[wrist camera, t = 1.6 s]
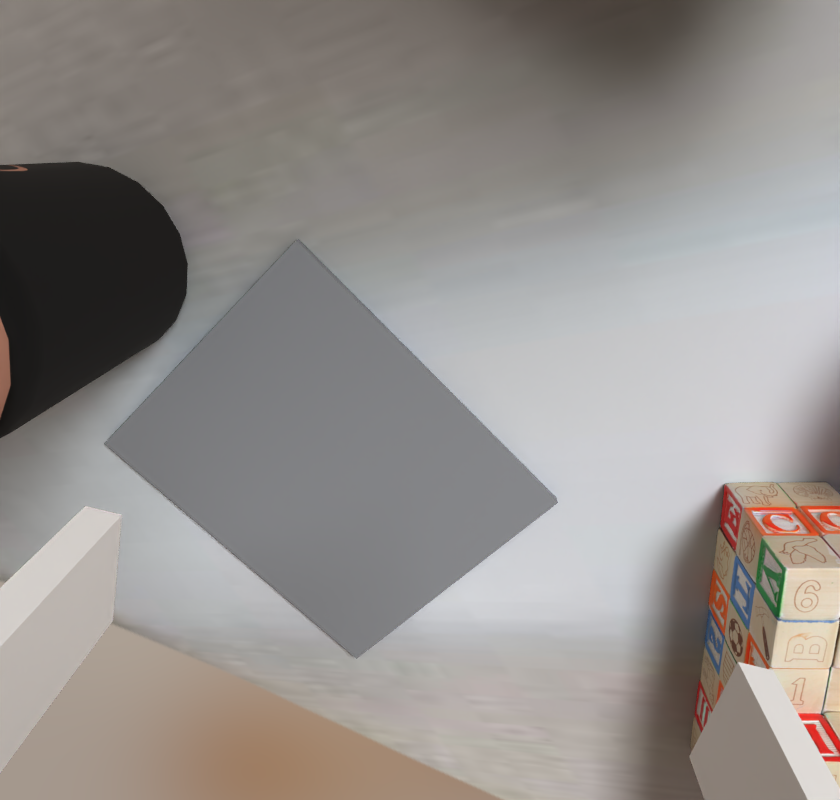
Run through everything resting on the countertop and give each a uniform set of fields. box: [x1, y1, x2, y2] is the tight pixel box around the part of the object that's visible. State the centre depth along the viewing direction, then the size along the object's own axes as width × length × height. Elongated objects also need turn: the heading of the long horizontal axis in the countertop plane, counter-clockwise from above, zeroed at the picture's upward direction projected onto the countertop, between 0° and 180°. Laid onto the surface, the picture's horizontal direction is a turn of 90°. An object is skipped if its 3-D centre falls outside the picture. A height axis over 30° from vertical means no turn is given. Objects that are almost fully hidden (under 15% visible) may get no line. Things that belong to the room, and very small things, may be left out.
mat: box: [104, 239, 558, 659], centre depth 43 cm, size 22×18×1 cm
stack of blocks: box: [690, 482, 840, 788], centre depth 40 cm, size 21×6×12 cm, turn 3°
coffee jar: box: [0, 162, 188, 438], centre depth 31 cm, size 11×11×18 cm
